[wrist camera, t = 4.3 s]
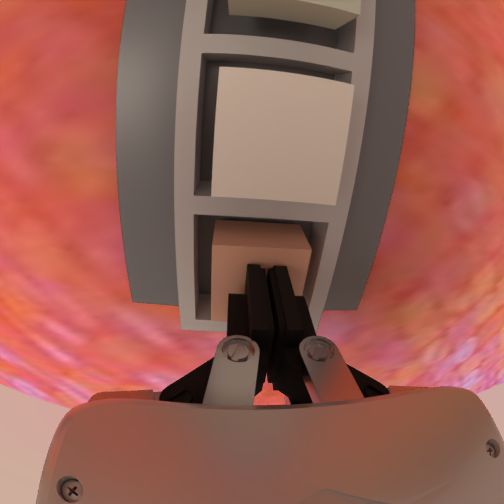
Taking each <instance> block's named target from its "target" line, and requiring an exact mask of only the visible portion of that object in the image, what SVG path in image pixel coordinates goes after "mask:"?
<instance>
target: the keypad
mask: <svg viewBox="0 0 504 504" xmlns="http://www.w3.org/2000/svg"><path fill="white" fill-rule="evenodd" d="M414 39H415V0H361V13H360V16H358V17H356V18H354V19H352V20H351V21H349V22H347V23H346V24H344V25H342V26H341V27H339V28H337V29H336V30H334V29H330V28H326V27H321V26H316V25H311V24H306V23H300V22H294V21H287V20H280V19H272V18H264V17H253V16H239V15H229V7H228V0H126V5H125V11H124V18H123V25H122V33H121V41H120V51H119V62H118V75H117V94H116V162H117V182H118V197H119V209H120V219H121V229H122V237H123V245H124V253H125V260H126V267H127V273H128V279H129V285H130V291H131V296H132V302H136V303H148V304H161V305H175V306H179V311H180V323H181V330H194V331H212V332H227V322H220V321H211V274H212V242H213V235H214V228H215V221H216V220H231V221H249V222H266V223H282V224H297V225H300V226H301V228H302V230H303V232H304V234H305V236H306V238H307V241H308V243H309V245H310V247H311V249H312V252H311V257H310V262H309V266H308V271H307V276H306V280H305V285H304V289H303V294H302V296H304V297H305V300H306V303H307V306H308V310H309V313H310V316H311V319H312V323H313V326H314V329H315V332H317V329H318V326H319V322H320V319H321V316H322V313H323V310H357V308H358V305H359V303H360V300H361V297H362V294H363V291H364V288H365V285H366V282H367V279H368V276H369V273H370V270H371V267H372V264H373V261H374V258H375V254H376V251H377V248H378V244H379V241H380V238H381V234H382V231H383V227H384V223H385V220H386V216H387V212H388V208H389V204H390V200H391V196H392V192H393V187H394V183H395V178H396V174H397V169H398V164H399V159H400V154H401V149H402V144H403V138H404V132H405V126H406V119H407V113H408V105H409V98H410V89H411V80H412V69H413V57H414ZM219 67H237V68H251V69H262V70H272V71H280V72H288V73H295V74H301V75H308V76H313V77H319V78H324V79H329V80H334V81H339V82H344V83H348V84H352V85H354V93H353V101H352V109H351V117H350V124H349V131H348V137H347V144H346V150H345V156H344V162H343V168H342V174H341V179H340V185H339V190H338V196H337V201H336V206H335V205H325V204H315V203H303V202H292V201H279V200H265V199H250V198H233V197H213V196H211V188H212V166H213V148H214V131H215V116H216V102H217V90H218V78H219Z"/></svg>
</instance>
